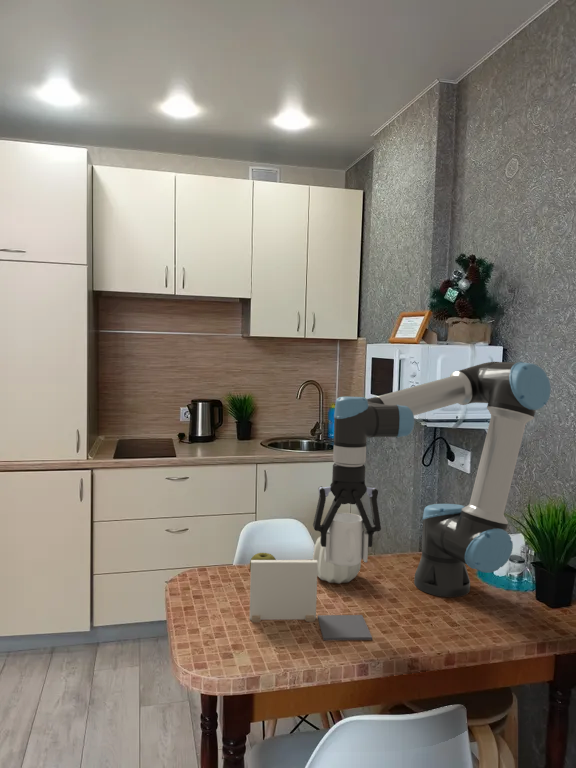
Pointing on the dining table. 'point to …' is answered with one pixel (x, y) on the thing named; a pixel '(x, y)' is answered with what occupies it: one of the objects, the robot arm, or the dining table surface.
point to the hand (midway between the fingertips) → (345, 560)
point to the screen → (283, 590)
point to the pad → (344, 627)
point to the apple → (262, 557)
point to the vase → (332, 567)
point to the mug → (346, 539)
